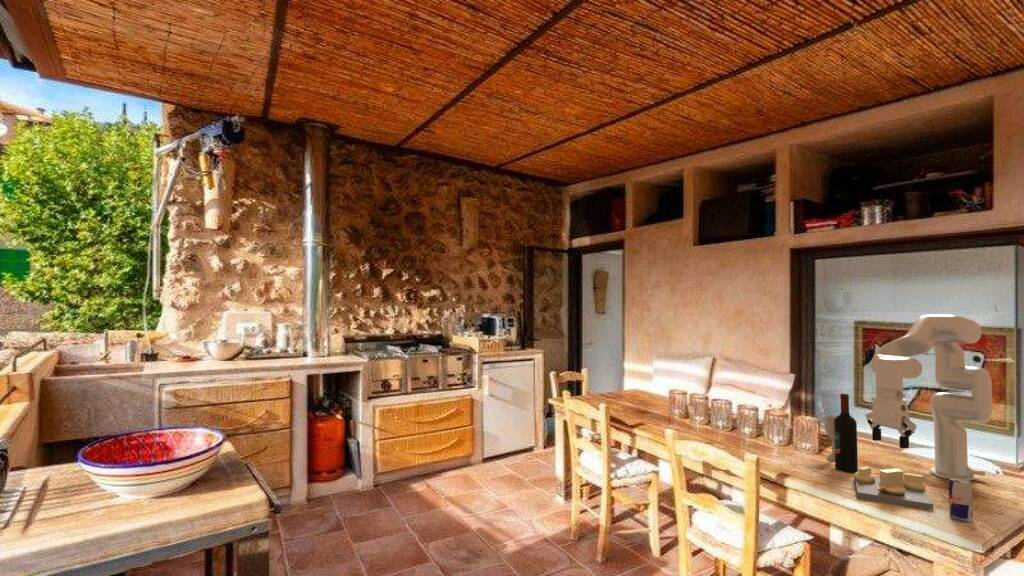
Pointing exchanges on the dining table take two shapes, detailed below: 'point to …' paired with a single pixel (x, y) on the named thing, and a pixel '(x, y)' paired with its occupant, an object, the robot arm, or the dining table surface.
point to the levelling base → (912, 496)
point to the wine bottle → (845, 439)
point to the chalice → (830, 434)
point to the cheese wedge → (891, 482)
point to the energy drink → (960, 500)
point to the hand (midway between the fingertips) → (890, 444)
